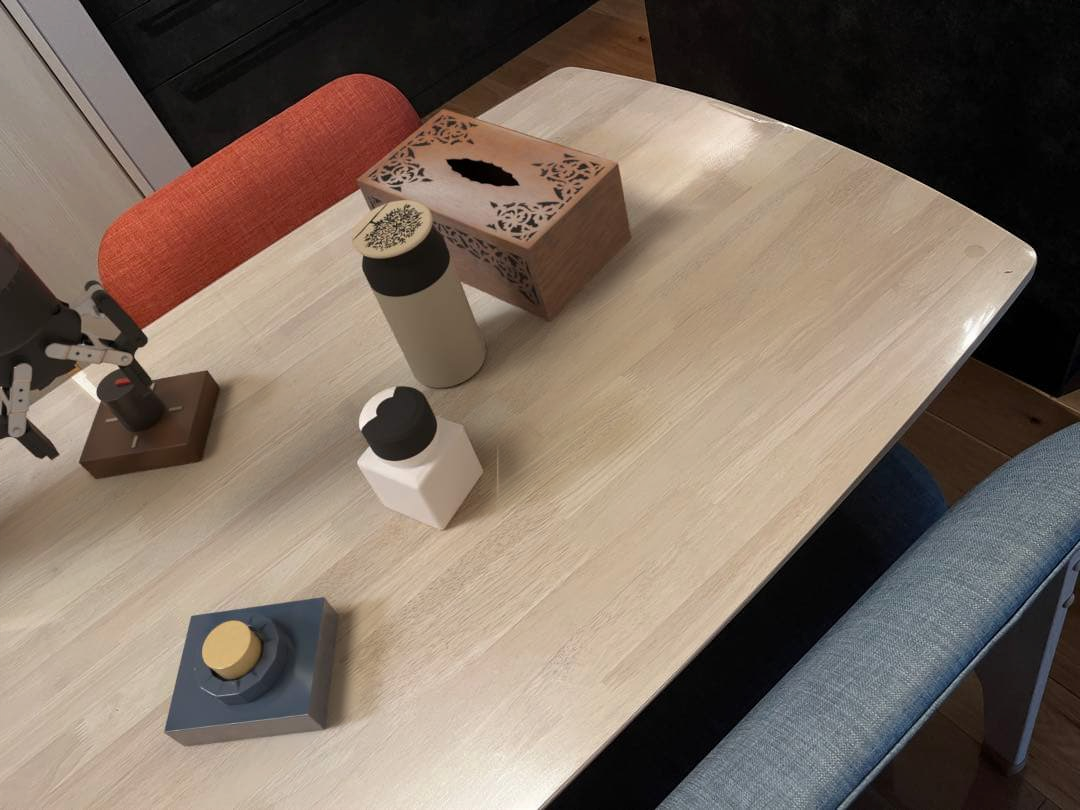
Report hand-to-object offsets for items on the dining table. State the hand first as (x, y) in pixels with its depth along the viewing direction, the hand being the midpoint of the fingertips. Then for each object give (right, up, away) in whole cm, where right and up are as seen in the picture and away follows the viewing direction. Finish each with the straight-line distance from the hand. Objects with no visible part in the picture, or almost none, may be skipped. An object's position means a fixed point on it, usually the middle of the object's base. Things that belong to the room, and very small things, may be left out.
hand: (99, 421), depth 76 cm
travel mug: (+27, +6, +19) cm, 34 cm away
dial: (-5, 0, +19) cm, 20 cm away
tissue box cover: (+33, +20, +29) cm, 48 cm away
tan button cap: (+13, -19, -3) cm, 23 cm away
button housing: (+14, -21, 0) cm, 25 cm away
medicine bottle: (+27, -7, +9) cm, 29 cm away
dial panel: (-4, -2, +21) cm, 22 cm away
